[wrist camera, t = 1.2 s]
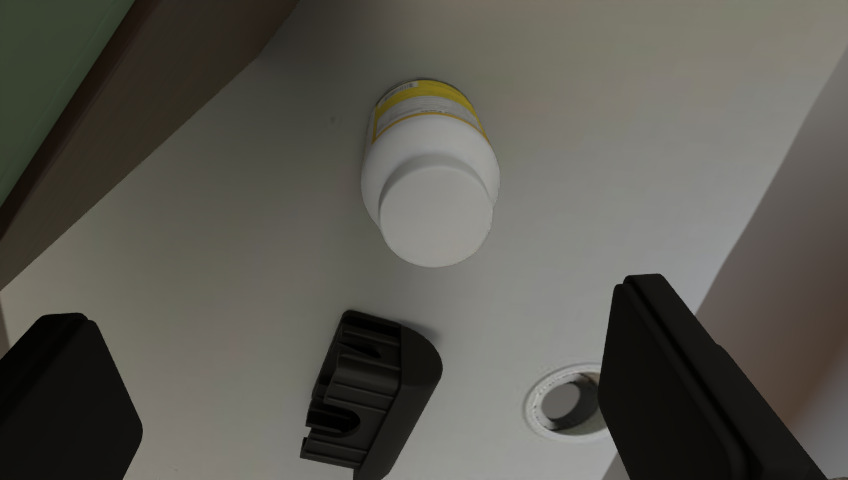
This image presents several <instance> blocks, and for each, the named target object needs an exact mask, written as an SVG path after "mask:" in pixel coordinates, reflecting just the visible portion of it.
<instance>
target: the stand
mask: <svg viewBox="0 0 848 480" xmlns="http://www.w3.org/2000/svg"><path fill="white" fill-rule="evenodd" d="M299 2H300V0H135V1H134V3H133V4H132V6H131V7H130V9H129V10H128V12H127V14H126V15H125V17H124V18H123V20H122V21H121V23H120V24H119V26H118V27H117V29H116V30H115V32H114V34H113V35H112V37H111V38H110V40H109V41H108V43H107V44H106V46H105V47H104V49H103V50H102V52H101V53H100V55H99V57H98V58H97V60H96V61H95V63H94V64H93V66H92V67H91V69H90V70H89V72H88V73H87V75H86V77H85V78H84V80H83V81H82V83H81V84H80V86H79V87H78V89H77V90H76V92H75V93H74V95H73V97H72V98H71V100H70V101H69V103H68V104H67V106H66V107H65V109H64V110H63V112H62V113H61V115H60V116H59V118H58V120H57V121H56V123H55V124H54V126H53V127H52V129H51V130H50V132H49V133H48V135H47V136H46V138H45V140H44V141H43V143H42V144H41V146H40V147H39V149H38V150H37V152H36V153H35V155H34V156H33V158H32V159H31V161H30V163H29V164H28V166H27V167H26V169H25V170H24V172H23V173H22V175H21V176H20V178H19V179H18V181H17V183H16V184H15V186H14V187H13V189H12V190H11V192H10V193H9V195H8V196H7V198H6V199H5V201H4V203H3V204H2V206H1V207H0V291H1V290H2V289H3V288H4V287H5V286H6V285H8V284H9V283H10V282H11V281H12V280H13V279H14V278H15V277H16V276H17V275H19V274H20V273H21V272H22V271H23V270H24V269H25V268H26V267H27V266H28V265H29V264H31V263H32V262H33V261H34V260H35V259H36V258H37V257H38V256H39V255H40V254H42V253H43V252H44V251H45V250H46V249H47V248H48V247H49V246H50V245H51V244H53V243H54V242H55V241H56V240H57V239H58V238H59V237H60V236H61V235H62V234H63V233H65V232H66V231H67V230H68V229H69V228H70V227H71V226H72V225H73V224H74V223H76V222H77V221H78V220H79V219H80V218H81V217H82V216H83V215H84V214H85V213H87V212H88V211H89V210H90V209H91V208H92V207H93V206H94V205H95V204H96V203H97V202H99V201H100V200H101V199H102V198H103V197H104V196H105V195H106V194H107V193H108V192H110V191H111V190H112V189H113V188H114V187H115V186H116V185H117V184H118V183H119V182H121V181H122V180H123V179H124V178H125V177H126V176H127V175H128V174H129V173H130V172H131V171H133V170H134V169H135V168H136V167H137V166H138V165H139V164H140V163H141V162H142V161H144V160H145V159H146V158H147V157H148V156H149V155H150V154H151V153H152V152H153V151H155V150H156V149H157V148H158V147H159V146H160V145H161V144H162V143H163V142H164V141H165V140H167V139H168V138H169V137H170V136H171V135H172V134H173V133H174V132H175V131H176V130H178V129H179V128H180V127H181V126H182V125H183V124H184V123H185V122H186V121H187V120H189V119H190V118H191V117H192V116H193V115H194V114H195V113H196V112H197V111H198V110H199V109H201V108H202V107H203V106H204V105H205V104H206V103H207V102H208V101H209V100H210V99H212V98H213V97H214V96H215V95H216V94H217V93H218V92H219V91H220V90H221V89H222V88H224V87H225V86H226V85H227V84H228V83H229V82H230V81H231V80H232V79H233V78H235V77H236V76H237V75H238V74H239V73H240V72H241V71H242V70H243V69H244V68H246V67H247V66H248V65H249V64H250V63H251V62H252V61H253V60H254V59H255V58H256V57H257V55H258V54H259V53H260V52H261V50H262V49H263V48H264V46H265V45H266V44H267V43H268V41H269V40H270V39H271V37H272V36H273V35H274V34H275V32H276V31H277V30H278V28H279V27H280V26H281V25H282V23H283V22H284V21H285V20H286V18H287V17H288V16H289V14H290V13H291V12H292V11H293V9H294V8H295V7H296V5H297V4H298V3H299Z"/></svg>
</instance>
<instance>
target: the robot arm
mask: <svg viewBox="0 0 848 480" xmlns="http://www.w3.org/2000/svg"><path fill="white" fill-rule="evenodd" d="M598 403H599V407H600V410H601V413H602V415H603V417H604V420H605V422H606V424H607V427H608V429H609V431H610V434H611V436H612V438H613V441H614V443H615V445H616V448H617V450H618V452H619V455H620V457H621V459H622V462H623V464H624V466H625V468H626V471H627V473H628V476H629V478H630V480H848V477H840V478H833V479H827V478H826V477H825V475H824V474H823V473H822V472H821V470H820V469H819V468H818V466H817V465H816V464H815V463H814V461H813V460H812V459H811V458H810V456H809V455H808V454H807V452H806V451H805V450H804V449H803V447H802V446H801V445H800V444H799V442H798V441H797V440H796V439H795V437H794V436H793V435H792V433H791V432H790V431H789V430H788V428H787V427H786V426H785V425H784V423H783V422H782V421H781V420H780V418H779V417H778V416H777V415H776V413H775V412H774V411H773V410H772V408H771V407H770V406H769V404H768V403H767V402H766V401H765V399H764V398H763V397H762V396H761V394H760V393H759V392H758V390H756V388H755V387H754V385H753V384H752V383H751V382H750V380H749V379H748V378H747V377H746V375H745V374H744V373H743V372H742V370H741V369H740V368H739V367H738V366H737V364H736V363H735V361H734V360H733V359H732V358H731V357H730V355H729V354H728V353H727V352H726V351H725V350H724V349H723V348H722V347H721V346H720V345H718V344H716V343H715V342H714V340H713V339H712V338H711V337H710V335H709V334H708V333H707V331H706V330H705V329H704V328H703V326H702V325H701V324H700V322H699V321H698V320H697V319H696V317H695V316H694V315H693V313H692V312H691V311H690V310H689V308H688V307H687V306H686V304H685V303H684V302H683V301H682V299H681V298H680V297H679V296H678V294H677V293H676V292H675V290H674V289H673V288H672V287H671V285H670V284H669V283H668V281H667V280H666V279H665V278H664V277H663V276H662V275H661V274H643V275H628V276H627V277H625V279H624V281H623V284H617V285H616V286H615V288H614V291H613V297H612V303H611V310H610V316H609V322H608V329H607V335H606V341H605V348H604V354H603V360H602V367H601V373H600V379H599V386H598ZM142 434H143V428H142V423H141V421H140V418H139V416H138V414H137V412H136V410H135V407H134V405H133V403H132V401H131V398H130V396H129V394H128V392H127V390H126V387H125V385H124V383H123V381H122V378H121V376H120V374H119V372H118V370H117V367H116V365H115V363H114V361H113V359H112V356H111V354H110V352H109V350H108V347H107V345H106V343H105V341H104V339H103V336H102V334H101V332H100V330H99V328H98V326H97V324H96V323H95V322H94V321H93V320H88V319H87V317H86V316H85V315H83V314H82V313H64V314H49V315H44V316H42V317H40V318H39V319H38V320H37V321H36V322H35V323H34V324H33V325H32V326H31V327H30V328H29V329H28V330H27V332H26V333H25V334H24V335H23V336H22V337H21V338H20V339H19V340H18V341H17V342H16V343H15V345H14V346H13V347H12V348H11V349H10V350H9V351H8V352H7V353H6V354H5V356H4V357H3V358H2V359H1V360H0V480H123V478H124V476H125V474H126V471H127V469H128V467H129V465H130V463H131V461H132V459H133V457H134V455H135V453H136V451H137V449H138V447H139V445H140V443H141V440H142Z"/></svg>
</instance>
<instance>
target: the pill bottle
mask: <svg viewBox="0 0 848 480" xmlns="http://www.w3.org/2000/svg"><path fill="white" fill-rule="evenodd" d="M499 189H500V171H499V166H498V162H497V159H496V156H495V154H494V151H493V149H492V147H491V145H490V143H489V141H488V139H487V136H486V134H485V132H484V130H483V128H482V126H481V123H480V121H479V119H478V117H477V115H476V113H475V110H474V109H473V107H472V105H471V103H470V102H469V101H468V99H467V98H466V97H465V96H464V95H463V94H462V93H461V92H460V91H459V90H458V89H456V88H455V87H454V86H452V85H450V84H448V83H446V82H444V81H441V80H437V79H432V78H416V79H410V80H407V81H404V82H402V83H400V84H397V85H396V86H394V87H393V88H391V89H390V90H388V91H387V92H386V93H385V94H384V95H383V96H382V97H381V98H380V99H379V101H378V102H377V104H376V105H375V107H374V109H373V111H372V114H371V116H370V120H369V124H368V131H367V138H366V144H365V150H364V158H363V165H362V173H361V193H362V198H363V201H364V205H365V207H366V209H367V211H368V213H369V215H370V217H371V218H372V220H373V221H374V222H375V224H376V225H377V226H378V227H379V228H380V231H381V234H382V236H383V238H384V240H385V242H386V244H387V245H388V246H389V248H390V249H391V250H392V251H393V252H394V253H395V254H396V255H397V256H399V257H400V258H402V259H403V260H405V261H407V262H409V263H412V264H414V265H417V266H422V267H428V268H429V267H430V268H436V267H446V266H450V265H454V264H456V263H459V262H461V261H463V260H465V259H466V258H468V257H469V256H471V255H472V254H474V253H475V252H476V251H477V250H478V249H479V248H480V247H481V245H482V244H483V243H484V241H485V240H486V238H487V236H488V234H489V231H490V228H491V224H492V211H493V209H494V206H495V204H496V201H497V198H498V194H499Z"/></svg>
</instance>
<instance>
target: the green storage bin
mask: <svg viewBox="0 0 848 480" xmlns="http://www.w3.org/2000/svg"><path fill="white" fill-rule="evenodd" d="M134 1H135V0H0V207H1V206H2V204H3V203H4V201H5V199H6V198H7V196H8V195H9V193H10V192H11V190H12V189H13V187H14V186H15V184H16V183H17V181H18V179H19V178H20V176H21V175H22V173H23V172H24V170H25V169H26V167H27V166H28V164H29V163H30V161H31V159H32V158H33V156H34V155H35V153H36V152H37V150H38V149H39V147H40V146H41V144H42V143H43V141H44V140H45V138H46V136H47V135H48V133H49V132H50V130H51V129H52V127H53V126H54V124H55V123H56V121H57V120H58V118H59V116H60V115H61V113H62V112H63V110H64V109H65V107H66V106H67V104H68V103H69V101H70V100H71V98H72V97H73V95H74V93H75V92H76V90H77V89H78V87H79V86H80V84H81V83H82V81H83V80H84V78H85V77H86V75H87V73H88V72H89V70H90V69H91V67H92V66H93V64H94V63H95V61H96V60H97V58H98V57H99V55H100V53H101V52H102V50H103V49H104V47H105V46H106V44H107V43H108V41H109V40H110V38H111V37H112V35H113V34H114V32H115V30H116V29H117V27H118V26H119V24H120V23H121V21H122V20H123V18H124V17H125V15H126V14H127V12H128V10H129V9H130V7H131V6H132V4H133V3H134Z"/></svg>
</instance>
